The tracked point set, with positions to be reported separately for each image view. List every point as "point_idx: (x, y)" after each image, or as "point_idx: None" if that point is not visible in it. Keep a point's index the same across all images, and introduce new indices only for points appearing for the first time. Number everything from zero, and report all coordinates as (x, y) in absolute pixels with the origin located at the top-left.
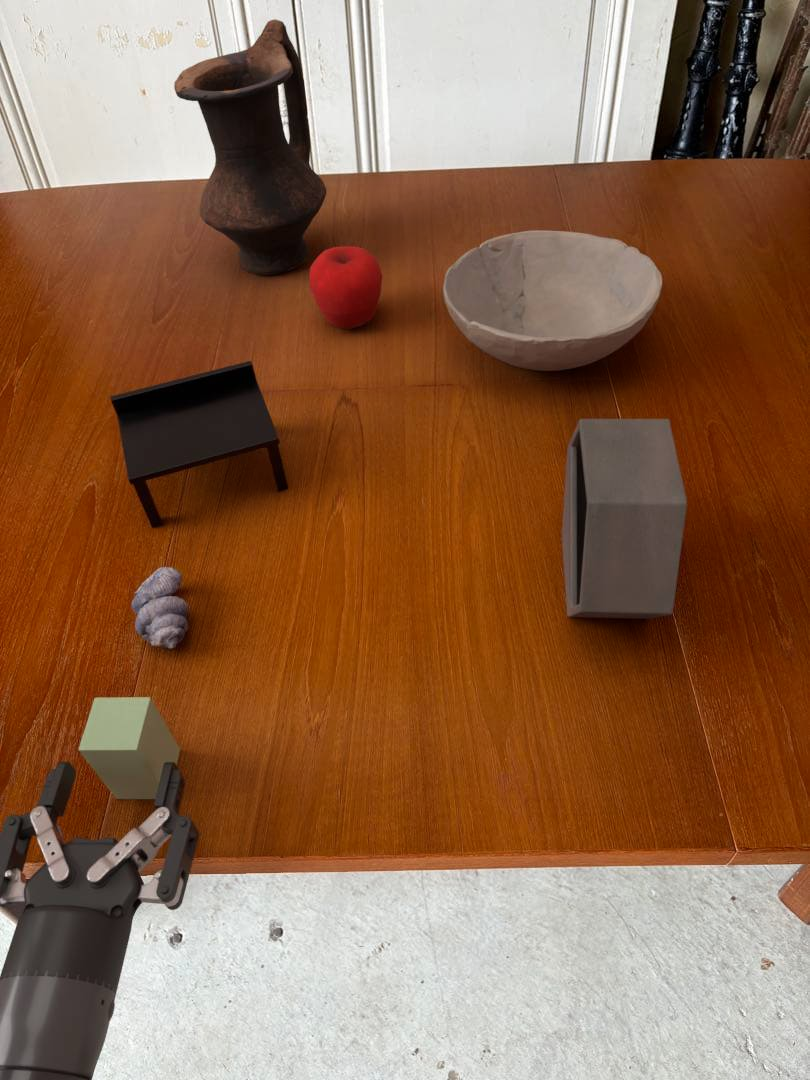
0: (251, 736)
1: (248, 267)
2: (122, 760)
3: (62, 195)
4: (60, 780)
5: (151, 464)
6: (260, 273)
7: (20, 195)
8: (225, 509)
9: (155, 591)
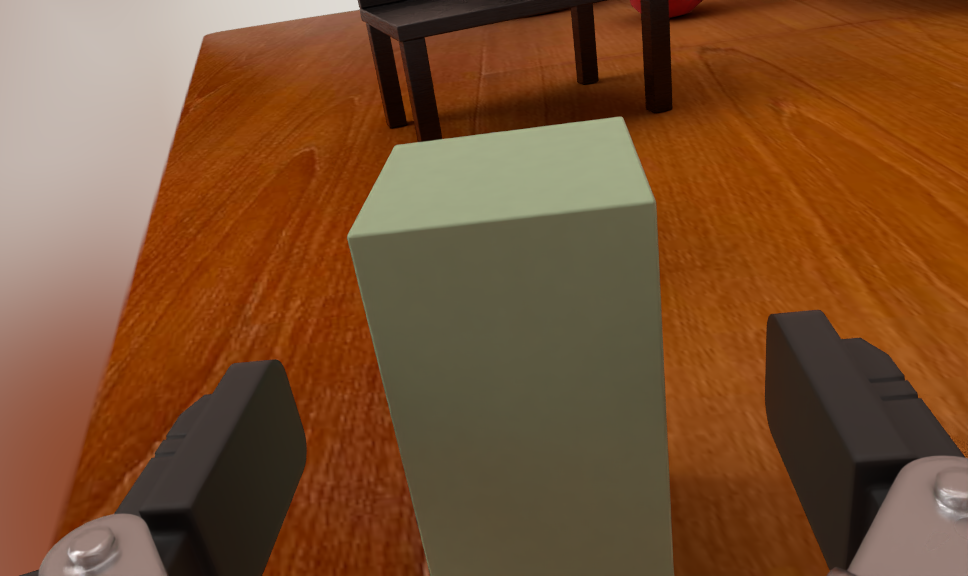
0: None
1: None
2: (552, 316)
3: (264, 26)
4: (244, 411)
5: (438, 14)
6: None
7: (217, 32)
8: None
9: None
